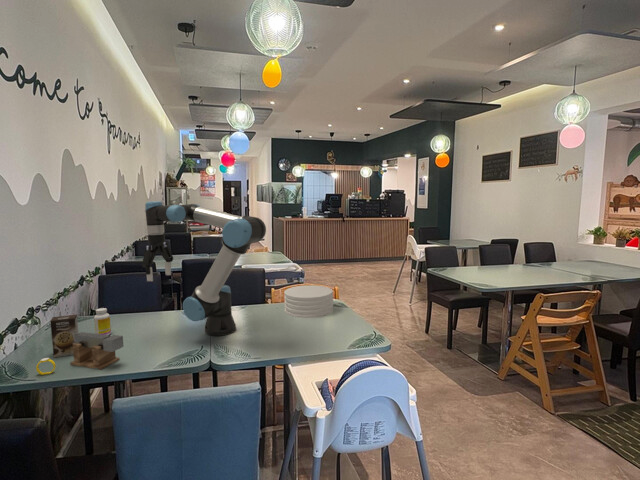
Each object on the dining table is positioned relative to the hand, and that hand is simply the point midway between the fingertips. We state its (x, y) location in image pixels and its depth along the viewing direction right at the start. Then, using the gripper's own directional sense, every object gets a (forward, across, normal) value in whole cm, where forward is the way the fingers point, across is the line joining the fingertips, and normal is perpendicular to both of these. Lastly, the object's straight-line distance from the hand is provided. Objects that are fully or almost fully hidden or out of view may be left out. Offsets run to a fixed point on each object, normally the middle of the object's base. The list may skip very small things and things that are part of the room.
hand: (159, 278), depth 187 cm
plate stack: (+29, -52, +59) cm, 84 cm away
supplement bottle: (+28, +7, -29) cm, 41 cm away
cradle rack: (+28, +34, -7) cm, 45 cm away
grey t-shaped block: (+21, +34, -5) cm, 41 cm away
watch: (+28, +47, -18) cm, 57 cm away
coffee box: (+28, +29, -27) cm, 49 cm away
